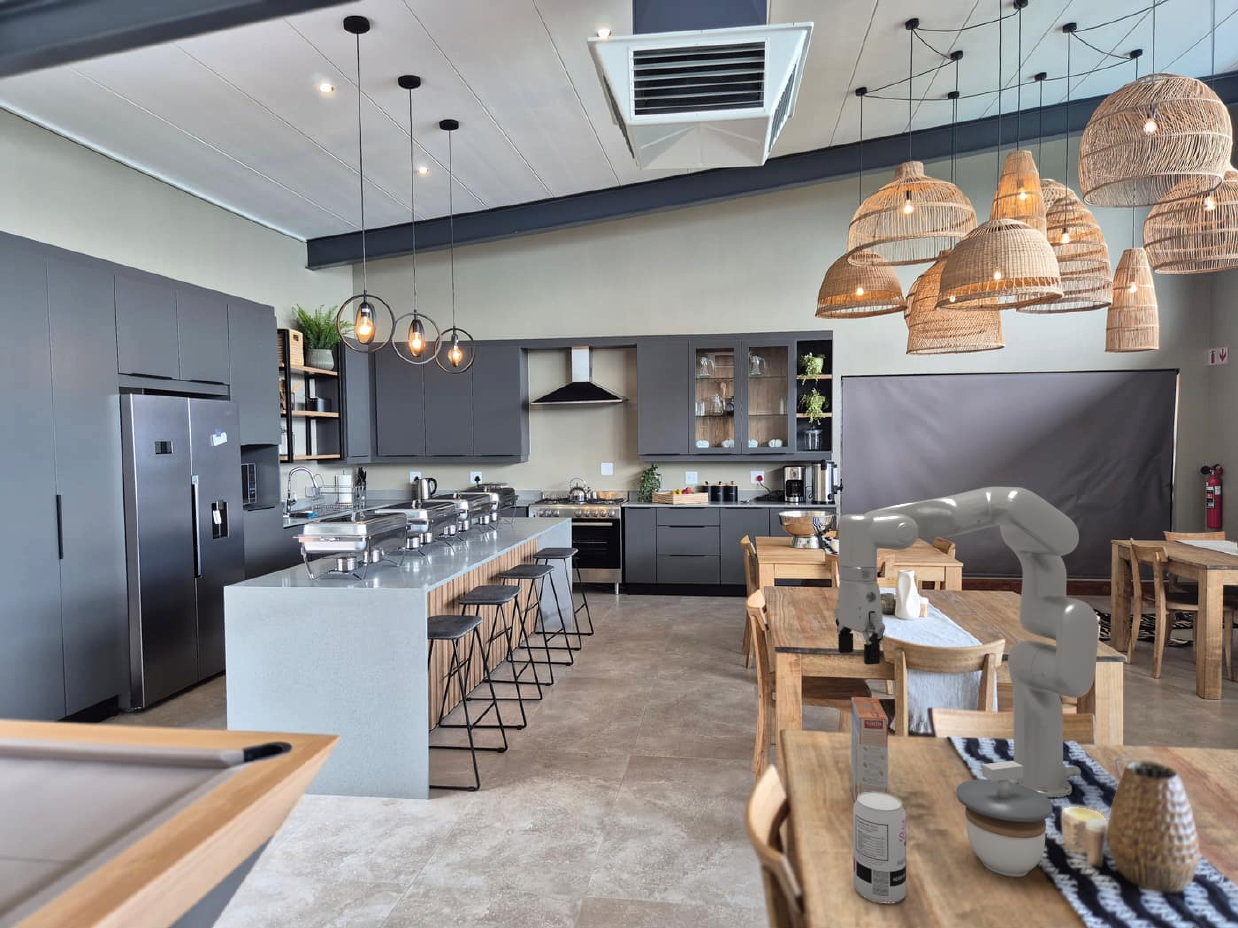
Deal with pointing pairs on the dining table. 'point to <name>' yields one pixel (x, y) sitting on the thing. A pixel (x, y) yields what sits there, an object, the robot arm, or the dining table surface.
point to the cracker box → (868, 747)
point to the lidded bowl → (1006, 843)
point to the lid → (1004, 795)
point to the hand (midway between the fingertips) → (858, 657)
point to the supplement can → (879, 847)
